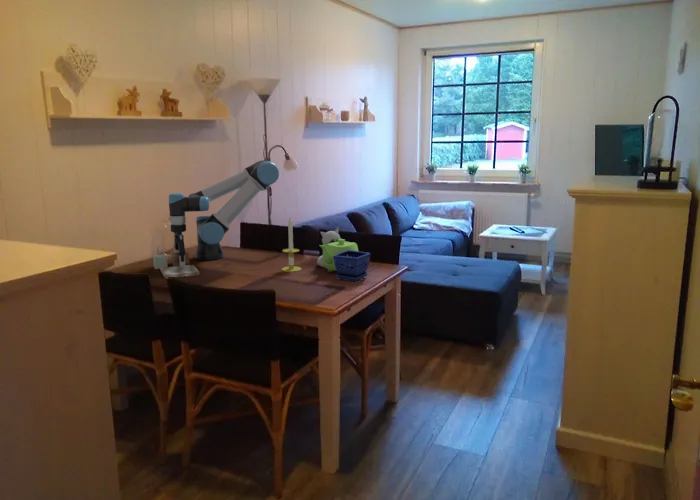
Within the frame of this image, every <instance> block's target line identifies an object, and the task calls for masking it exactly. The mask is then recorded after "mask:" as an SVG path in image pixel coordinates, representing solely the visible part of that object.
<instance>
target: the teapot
mask: <svg viewBox="0 0 700 500" xmlns="http://www.w3.org/2000/svg"><path fill="white" fill-rule="evenodd" d="M318 246H319V247H320V248H321V249H322V255H323V265H324V267H325V268H324V267H323V268H324V269H327V272H329V273H330V272H334V271H336V272H337V270H336V267H335V264H334V259H333V256H334V255H336V254H338V253H340V252H343V251H346V250H351V251H359V246H358V244H357V243H356V242H350V241H346V239H343V238H341V239H338V242H333V243H329V244H326V243H324V244H323V243H322V245H321V244H319V245H318ZM346 257H349V256H348V254H347V256H346ZM350 257H351V256H350ZM358 265H359V264H358Z"/></svg>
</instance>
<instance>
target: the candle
mask: <svg viewBox="0 0 700 500" xmlns="http://www.w3.org/2000/svg"><path fill="white" fill-rule="evenodd" d="M287 223H288V229H287V230H288V232H287V233H288V248H283V249H282V252H283V253H286V254H288V266H283V267H281V271H282V272H286V273H294V272H300V271H302V268H301V267H300V266H295V263H294V262H295V254H294V253H298V252H300V249H299V248H294V234H293V233H294V232H293V230H294V229H293V226H294V225H293V220H292V217H291V216H289V218H288V221H287Z"/></svg>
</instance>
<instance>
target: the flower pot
mask: <svg viewBox="0 0 700 500" xmlns="http://www.w3.org/2000/svg"><path fill="white" fill-rule="evenodd" d="M347 254H348V256H349V257H346V256H347ZM350 256H351V257H350ZM333 259H334V264H335V267H336V270H337V271H336V272H337V274H335V277H336V278H337V279H339V280H344V281H350V282H357V281H359V280H362V279H363V278H365V277H367V276H368V272H367V269H368V267H369V265H370V259H371V252H366V251H365V252H364V251H359V250H358V251H351V250H346V251H343V252H340V253H338V254H336V255H334V256H333ZM358 264H359V265H358Z"/></svg>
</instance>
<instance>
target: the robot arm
mask: <svg viewBox="0 0 700 500" xmlns="http://www.w3.org/2000/svg"><path fill="white" fill-rule="evenodd" d="M279 176H280V171H279V168H278V166H277V165H276V164H275V163H274V162H272V161H268V160H258V161H256V162H255V163H252V164H250V165H249V166H246V167H245V168H244V169H243V170H242V171H240V172H239V173H237V174H233V175H231V176H230V177H227V178H225V179H223V180H221V181H218V182H217V183H215V184H212V185H210V186H208V187H205V188H203V189H201V190H199V191H196V192H193V193H192V192H191V193H189V195H187V196H185V194H184V193H181V192H174V193H170V194H169V195H168V207H169V208H168V209H169V217H168V220H169V221H170V222H169V223H170V225H169V226H170V232H171V233H173V235H174V236H173V237H174V245H173V246H174V249H175V250H174V251H175V252H174V253H179V254H178V256H179V262H180V266H185V254H186V253H185V252H186V249H185V248H186V247H185V241H184V235H183V232H186V231H187V224H186V222H187V220H186V213H189V212H191V213H192V212H207V211H209V210H210V202H211V203H212V202H213V201H215V200H217V199H220V198H221V197H223V196H226V195H228V194H231V193H232V192H235V191H236V192H235V193H234V195H232V197H231V198H230V199H229V200H227V202H226V203H225V204H224V205H223V206H222V207H221V208H220V209H219V210H218V211H217V213H212V214H211V215H202V216H199V215H198V216H196V219H195V220H196V221H195V223H196V235H197V236H196V240H197V246H196V249H195V253H194V256H195V259H196V260H199V261H215V260H220V259H223V258H224V250H223V249H222V246H221V242H222V240H223V239H224V237H225V235H226V233H227V232H228V231H229V230H230V225H231V224H232V222H233V221H234V220H235V219H237V217H239V215H240V214H241V212H243V210H244V209H246V207H247V206H248V205H249V204H251V202H252V201H253V199H255V198H256V196H258V194H259V193H260V192H263V191H266V190H267V189H268V188H269V187H270V186H271V185H273V184H275V183H276V182H277V181H278V179H279Z"/></svg>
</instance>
